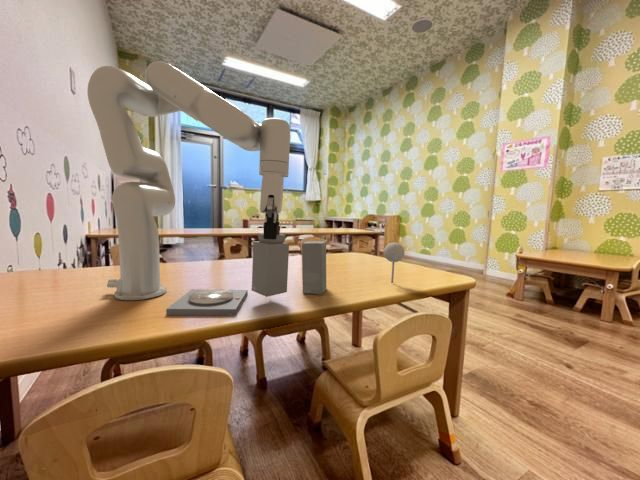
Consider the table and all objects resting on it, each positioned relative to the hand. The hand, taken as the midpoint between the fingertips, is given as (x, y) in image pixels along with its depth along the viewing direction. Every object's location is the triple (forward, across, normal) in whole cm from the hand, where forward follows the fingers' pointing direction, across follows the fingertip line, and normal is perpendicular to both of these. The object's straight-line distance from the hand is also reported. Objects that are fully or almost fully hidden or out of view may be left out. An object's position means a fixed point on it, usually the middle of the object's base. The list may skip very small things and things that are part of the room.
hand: (271, 236), depth 75 cm
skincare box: (+18, -12, +13) cm, 25 cm away
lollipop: (+17, -22, +42) cm, 50 cm away
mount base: (+19, +1, -15) cm, 24 cm away
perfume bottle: (+15, 0, 0) cm, 15 cm away
